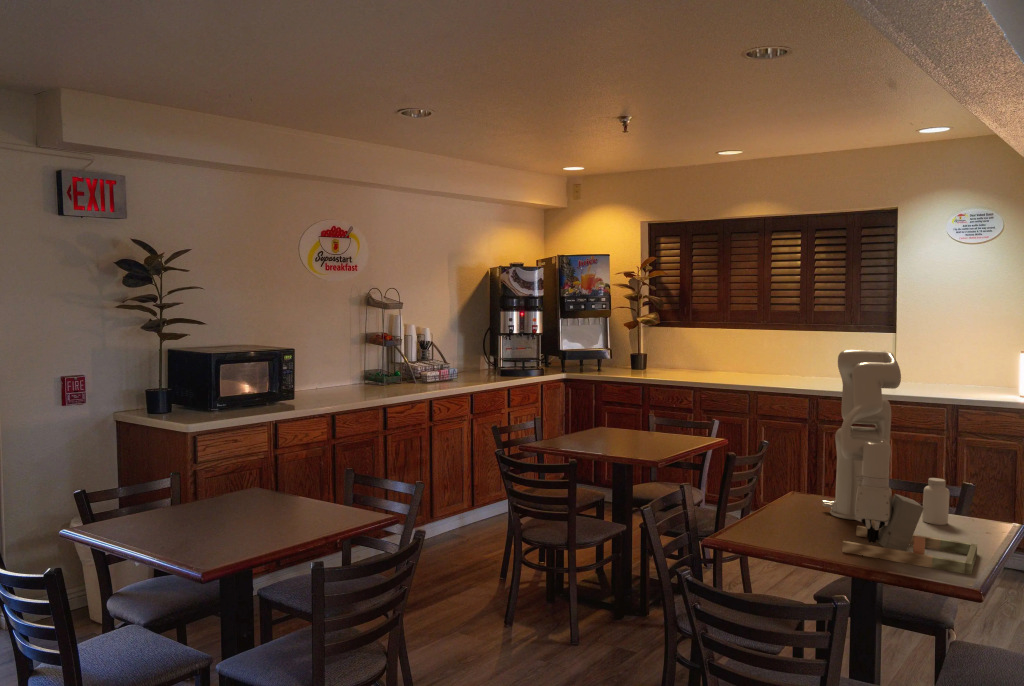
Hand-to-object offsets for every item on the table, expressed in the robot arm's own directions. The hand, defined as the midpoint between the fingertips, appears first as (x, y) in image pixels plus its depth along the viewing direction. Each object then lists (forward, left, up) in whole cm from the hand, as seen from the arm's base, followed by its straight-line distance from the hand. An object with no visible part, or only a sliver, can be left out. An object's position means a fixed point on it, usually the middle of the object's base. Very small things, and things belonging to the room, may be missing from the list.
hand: (872, 541), depth 245 cm
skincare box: (+5, 0, -1) cm, 5 cm away
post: (+13, -7, -2) cm, 15 cm away
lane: (+9, +1, -2) cm, 10 cm away
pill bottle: (+12, +47, -2) cm, 48 cm away
